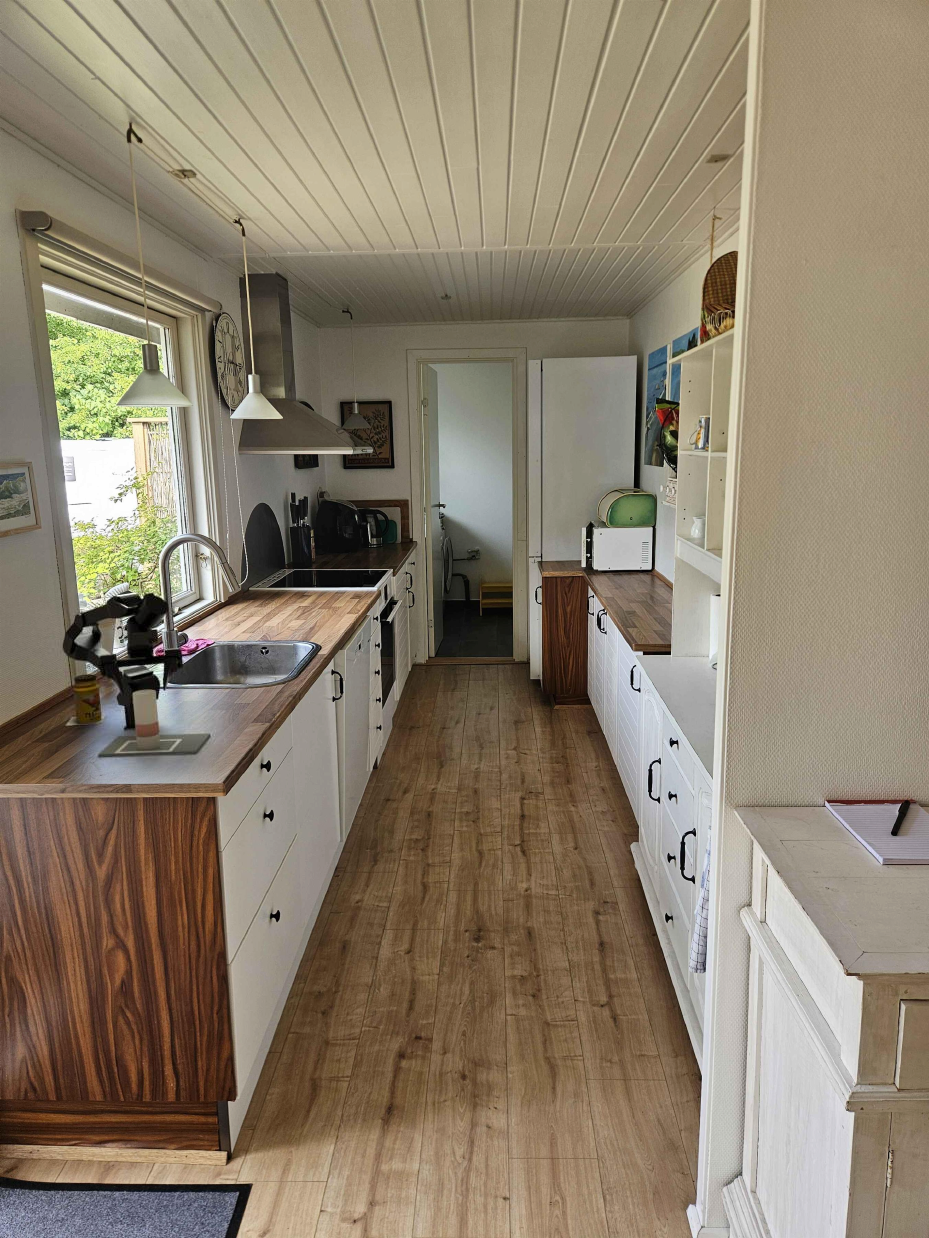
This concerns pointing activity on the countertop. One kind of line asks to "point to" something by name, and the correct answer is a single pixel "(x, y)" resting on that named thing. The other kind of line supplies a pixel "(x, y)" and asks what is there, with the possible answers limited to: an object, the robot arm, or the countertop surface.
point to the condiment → (86, 701)
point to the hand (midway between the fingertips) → (143, 691)
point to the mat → (167, 746)
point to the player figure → (146, 719)
